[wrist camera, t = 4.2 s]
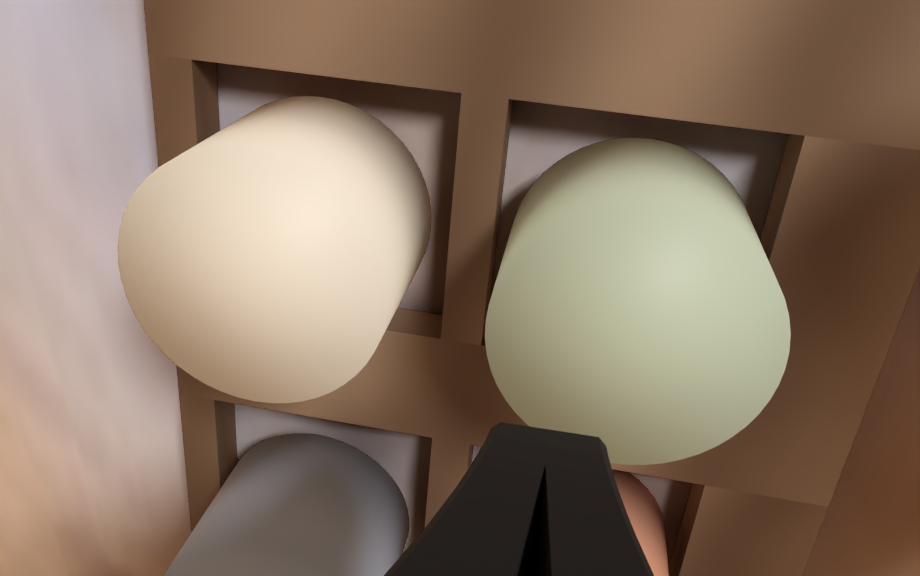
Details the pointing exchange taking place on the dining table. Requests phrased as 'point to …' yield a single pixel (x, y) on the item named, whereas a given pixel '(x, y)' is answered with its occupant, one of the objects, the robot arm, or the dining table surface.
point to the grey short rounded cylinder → (299, 515)
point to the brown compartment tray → (631, 92)
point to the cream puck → (277, 249)
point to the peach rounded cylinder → (644, 520)
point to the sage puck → (637, 304)
